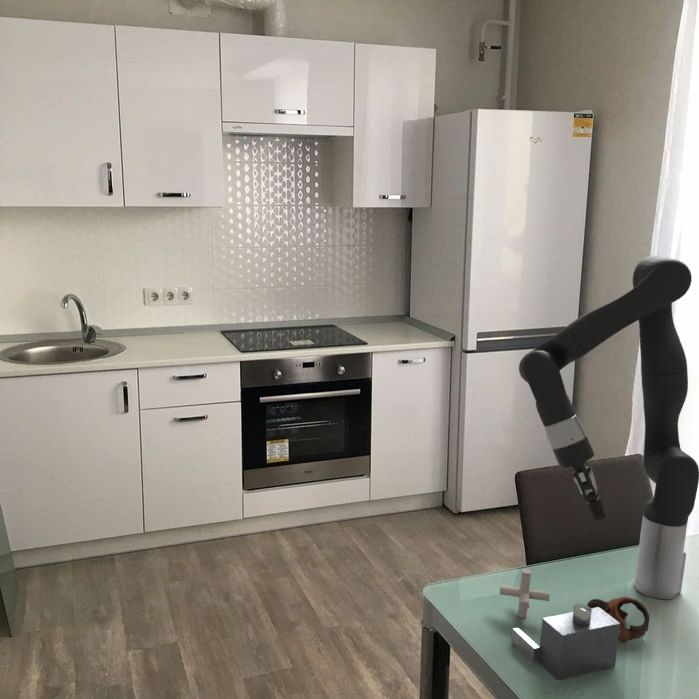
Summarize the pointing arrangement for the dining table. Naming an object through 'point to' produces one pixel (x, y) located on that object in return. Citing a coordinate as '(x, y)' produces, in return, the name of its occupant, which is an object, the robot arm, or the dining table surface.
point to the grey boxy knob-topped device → (573, 642)
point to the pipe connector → (524, 593)
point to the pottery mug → (623, 616)
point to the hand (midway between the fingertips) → (599, 514)
